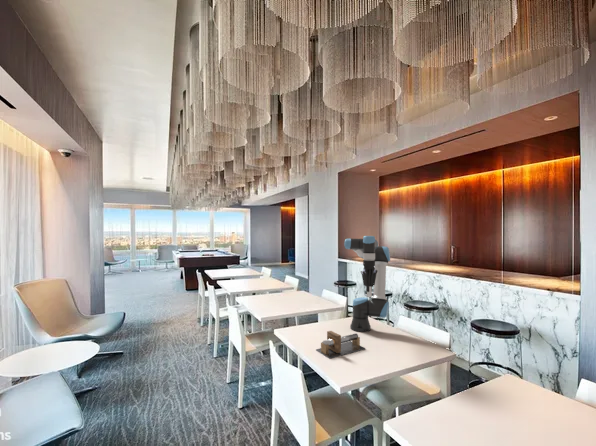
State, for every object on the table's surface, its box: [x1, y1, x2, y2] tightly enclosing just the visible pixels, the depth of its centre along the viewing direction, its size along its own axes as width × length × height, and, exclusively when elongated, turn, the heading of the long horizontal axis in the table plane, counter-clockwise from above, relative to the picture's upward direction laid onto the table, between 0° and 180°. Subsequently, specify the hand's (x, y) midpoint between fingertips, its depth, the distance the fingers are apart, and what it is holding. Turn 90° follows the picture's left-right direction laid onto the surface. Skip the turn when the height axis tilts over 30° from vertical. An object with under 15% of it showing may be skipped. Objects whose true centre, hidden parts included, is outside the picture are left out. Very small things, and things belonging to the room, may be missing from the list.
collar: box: [326, 330, 342, 353], centre depth 180 cm, size 3×10×10 cm, turn 31°
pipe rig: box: [315, 333, 366, 359], centre depth 183 cm, size 28×14×8 cm, turn 121°
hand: (369, 296), depth 187 cm, fingers closed
